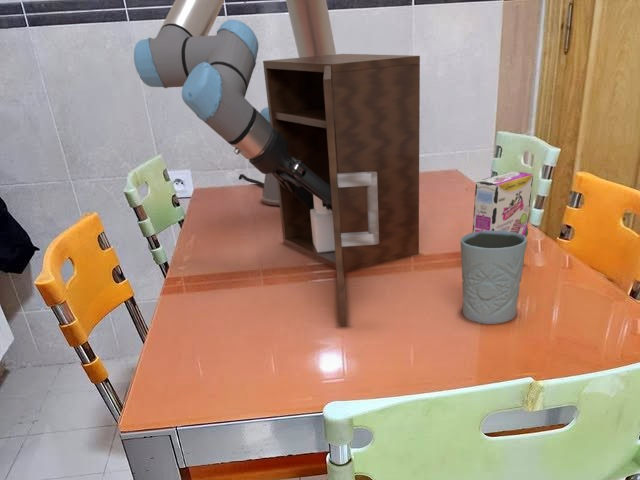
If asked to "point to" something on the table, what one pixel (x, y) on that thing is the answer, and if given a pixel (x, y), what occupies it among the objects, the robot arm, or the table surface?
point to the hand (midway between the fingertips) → (336, 214)
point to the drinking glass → (491, 275)
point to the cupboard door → (337, 182)
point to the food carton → (503, 203)
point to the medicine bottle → (322, 226)
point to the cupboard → (352, 146)
